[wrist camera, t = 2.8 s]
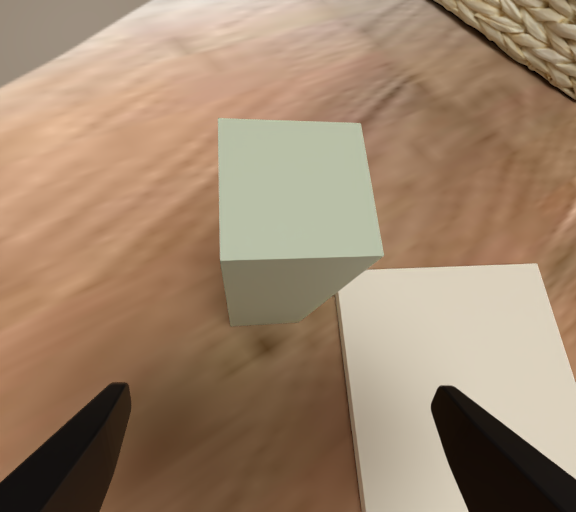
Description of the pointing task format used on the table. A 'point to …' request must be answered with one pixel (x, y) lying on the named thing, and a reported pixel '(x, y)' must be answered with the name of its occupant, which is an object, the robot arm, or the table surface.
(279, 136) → the block
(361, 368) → the tile
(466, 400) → the robot arm
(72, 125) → the table surface
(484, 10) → the storage basket
